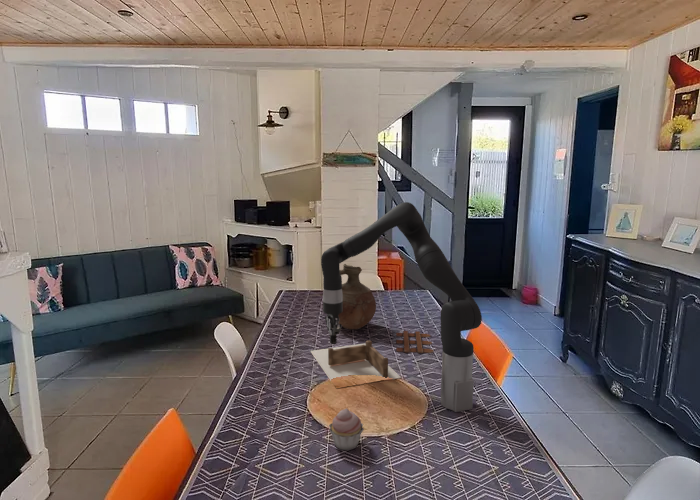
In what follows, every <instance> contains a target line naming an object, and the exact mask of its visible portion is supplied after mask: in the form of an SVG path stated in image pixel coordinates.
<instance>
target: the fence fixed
mask: <svg viewBox="0 0 700 500" xmlns="http://www.w3.org/2000/svg"><path fill="white" fill-rule="evenodd" d="M365 344H366V361H369V362H370V363H371V364H372V365H373V366H374V367H375V368H376V369H377V370H378V371H379V372H380V373H381V374H382V375H383V377H385V378H387V377H388V365H389V357H387V356H385V357H384V356H383V355H382V353H380V352H379V351H378V350H377V349H376V348H375V347H374V346H373V341H372V340H366V341H365Z"/></svg>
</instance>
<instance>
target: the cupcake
mask: <svg viewBox="0 0 700 500" xmlns="http://www.w3.org/2000/svg"><path fill="white" fill-rule="evenodd" d="M336 414H337V415H336V416H334V418H332V421H331V422H332V423H330V424H329V426H328V427H329V432H330V435H332V440H333V443H334V446H335V447H336V448H337V449H338V450H343V451H350V450H354V449H355V448H357V446H358V445H359V442H360V438H361V435H362V434H363V433H362V432H363V431H364V430H365V429H364V427H363V426H364V424H363V423H362V421H361V419H360V417H359V416H358V415H357V414H356V413H354V412H353V411H351V410H349V409H348V407H346V408H344V409H341V410H340V411H338V413H336Z"/></svg>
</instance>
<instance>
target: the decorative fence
mask: <svg viewBox="0 0 700 500" xmlns="http://www.w3.org/2000/svg"><path fill="white" fill-rule="evenodd" d="M395 335H396V336H395V337H402V339H396V340H395V344H397V345H403V347H396V348H395V350H396V351H395V352H396V353H413V354H414V353H415V354H416V353H417V354H431V353H432V354H433V353H435V351H434V349H431V348H423V346H430V345H432V344H433V342H432V341H429V340H422V338H430V337H431V334H429V333H421V331H414V332H410V333H409V331H408V330H403V331H402V332H395ZM409 338H415V339H414V340H410V339H409ZM410 345H416V348H415V347H413V348H412V347H410Z"/></svg>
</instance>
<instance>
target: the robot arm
mask: <svg viewBox="0 0 700 500" xmlns="http://www.w3.org/2000/svg"><path fill="white" fill-rule="evenodd" d="M394 228H397V229H398V230H399V231H400V232H401V233H402V235H404V237H405V238H406V240H407V241H408V243H409V244H410V246H411V248H412V250H413V255H414V259H415V262H416V264H417V266H418V268H419V269H420V271H421V273H422V275H423V277H424V278H425V279H426V280H427V281H428V282H429V283H430V284H432V286H434V287H436V288H437V289H439V290H440V291H442V292H443V293H444V294H445V295H447V296H448V297H449V299H450V300H451V301H446V302H445V303H444V304H443V305H442V306H441V309H440V341H441V347H442V349H441V350H442V353H441V354H442V356H441V378H440V379H441V380H440V381H441V382H440V404H441V406H442V407H444V408H446V409H448V410H451V411H453V412H454V413H458V412H463V411H468V410H472V409H473V405H474V404H473V401H474V381H475V380H474V379H473V368H474V367H473V366H474V365H473V364H474V350H475V349H474V344H473V343H472V341H470V340H468V339H466V338H463V337H462V332H464V331H470V330H475V329H478V328H479V327H480V326H481V324H482V321H483V318H482V311H481V309H480V307H479V305H478V304H477V302H476V300H475V299H474V298H473V296H472V295H471V294H470V293H469V291H468V290H467V288H466V287H465V286H464V285H463V284H462V282H461V280H460V279H459V277H458V275H457V274H456V272H455V271H454V269H453V267H452V266H451V264H450V262H449V261H448V259H447V257H446V256H445V254H444V252H443V250H442V249H441V248H440V246H439V245H438V244H437V243H436V242H435V241H434V239H433V238H432V237H431V235H430V234H429V232H428V230H427V227H426V225H425V222H424V220H423V218H422V215H421V214H420V212H419V210H418V209H417V207H416V206H415V205H414V204H413V203H411V202H408V201H406V202H401V203H399V204H397V205H395V206H394V207H393V208H392V209H389V211H388V212H387V213H385V214H383V215H382V216H381V217H379V218H378V219H377V220H375V221H374V222H373V223H372V224H370V225H369V226H367V227H365V228H364V229H363V230H362V231H359V232H358V233H356V234H354V235H352V236H350V237H348V238H346V239H345V240H344V241H341V242H340V243H337V244H336V245H334V246H331V247H329V248H327V249H326V250H324V251H323V252H322V255H321V258H320V259H321V260H320V265H321V271H322V272H321V273H322V276H323V279H322V281H323V282H322V283H323V284H322V285H323V286H322V287H323V289H322V290H323V291H322V312H323V313H324V314H326V316H324V319H325V325H326V330H327V331H328V334H329V344H330V345H336V344H337V335H339V334H340V332H341V330H342V328H343V326H342V325H341V324H339V316H338V315H339V314H340V313H342V311H343V294H342V284H343V279H342V275H340V270H341V269H340V264H342V263H344V262H345V261H347V260H348V259H351V258H353V257H356V256H358V255H359V254H362V253H364V252H365V251H367V250H369V249H371V248H372V247H373V246H374V245H375V244H376V242H377V241H379V239H380V238H381V237H382V236H383V235H384V234H385V233H386V232H388V231H389V230H391V229H394Z"/></svg>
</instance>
